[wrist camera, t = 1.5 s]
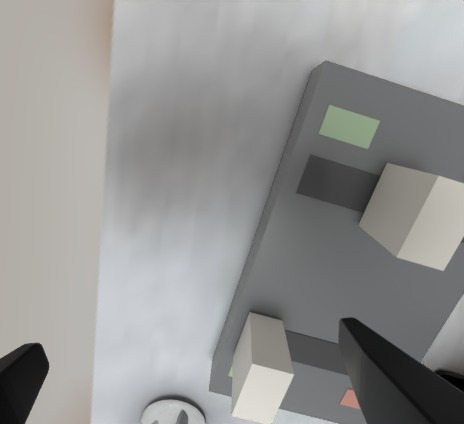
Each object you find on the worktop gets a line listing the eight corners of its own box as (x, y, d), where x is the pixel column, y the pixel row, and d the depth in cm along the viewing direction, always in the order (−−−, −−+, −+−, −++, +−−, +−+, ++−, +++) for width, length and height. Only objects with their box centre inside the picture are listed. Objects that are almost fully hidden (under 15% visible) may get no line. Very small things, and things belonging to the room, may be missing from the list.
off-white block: (282, 320, 19) (294, 374, 15) (264, 364, 21) (270, 425, 16) (249, 311, 19) (252, 363, 15) (233, 356, 20) (231, 415, 16)
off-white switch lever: (425, 174, 16) (490, 191, 12) (394, 235, 17) (443, 270, 13) (387, 162, 16) (439, 175, 12) (358, 225, 17) (396, 257, 13)
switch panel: (511, 135, 18) (562, 137, 16) (360, 398, 25) (376, 433, 22) (311, 71, 18) (326, 60, 15) (212, 360, 25) (208, 391, 22)
